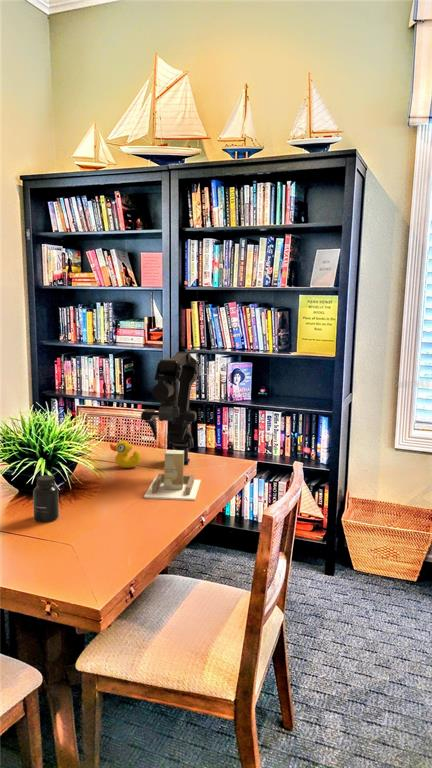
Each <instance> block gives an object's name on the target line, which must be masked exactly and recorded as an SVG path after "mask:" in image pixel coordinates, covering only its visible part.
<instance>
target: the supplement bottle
mask: <svg viewBox="0 0 432 768" xmlns="http://www.w3.org/2000/svg"><path fill="white" fill-rule="evenodd" d="M55 484H56V478H55V476H54V475H49V474H47V475H46V474H45V475H40V476H38V477H36V487H35V488H33V491H32V494H33V495H32V497H33V500H32V501H33V503H32V504H33V505H32V506H33V520H34V521H36V522H37V523H44V524H45V523H51V522H54V521H56V520H57V519H58V518H59V516H60V511H59V510H60V507H59V506H60V503H59V501H60V500H59V499H60V498H59V495H60V494H59V487H58V486H57V485H55Z"/></svg>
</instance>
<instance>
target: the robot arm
mask: <svg viewBox="0 0 432 768" xmlns="http://www.w3.org/2000/svg"><path fill="white" fill-rule="evenodd" d="M199 371H200V369H199V364H198V360H197V359H195V358H194V357H193V356H192V355H191V353H190V352H188V351H178V352H176V353H175V354H174V355H173V356H172V357H170V358H161V359H160V360H159V362H158V363H157V366H156V372H155V375H154V381H157V383H156V384H155V385H154V386H153V387H152V392H151V393H152V397H153V398H154V399H155V400H156V401H160V403H159V404H160V405H159V408H158V411H157V412H156V410H155V409H149V408H146V409H144V410H143V411H142V412H140V421H144V423H147V424H148V425H149V427H150V429H151V431H152V435H153V437H154V440H157V438H158V437H157V436H158V431H157V430H158V429H157V428H158V427H157V418H158V421H160V422H164V421H165V422H171V423H170V425H169V431H168V432H167V437H166V438H167V444H168V445H167V446H168V448H172V450H183V451H184V466H185V465H189V463H190V460H191V459H190V458H189V449H192V448H194V438H193V435H192V433H191V428H190V425H191V424H192V423H195V422H196V420H197V412H196V411H195V410H189V409H190V402H191V401H190V399H191V392H192V391H191V390H192V385H194V383H195V381H196V380H197V378H198V377H197V376H198V374H199ZM178 382H179V385H178ZM178 386H179V387H178ZM173 420H174V421H173ZM172 421H173V422H172Z"/></svg>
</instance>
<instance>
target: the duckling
mask: <svg viewBox="0 0 432 768" xmlns="http://www.w3.org/2000/svg"><path fill="white" fill-rule="evenodd" d="M109 447H110V450H111V451H113V452H117V454H116V456H115V457H114V458H115V459H114V460H115V463H116V464H117V465H118V466H119V467H120V468H124V469H129V468H130V469H131V468H135V467H136V466H138V465H139V464H140V462H141V457H142V455H141V453H140V451H139V450H137V449H136V450H134V451H133V454H132V455H131V456H130V455H129V453H130V452H131V450H132V449H133V445H132V444H131V443H130V442H129V441H127V440H120V441H118V442H117V443H116V445H114V444H113V442H111V443H109Z"/></svg>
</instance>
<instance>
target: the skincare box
mask: <svg viewBox="0 0 432 768" xmlns="http://www.w3.org/2000/svg"><path fill="white" fill-rule="evenodd" d="M184 467H185V464H184V451H183V450H173V449H165V451H164V472H163V474H164V489H177V490H182V488H183V475H184V471H185V470H184V469H185V468H184Z"/></svg>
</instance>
